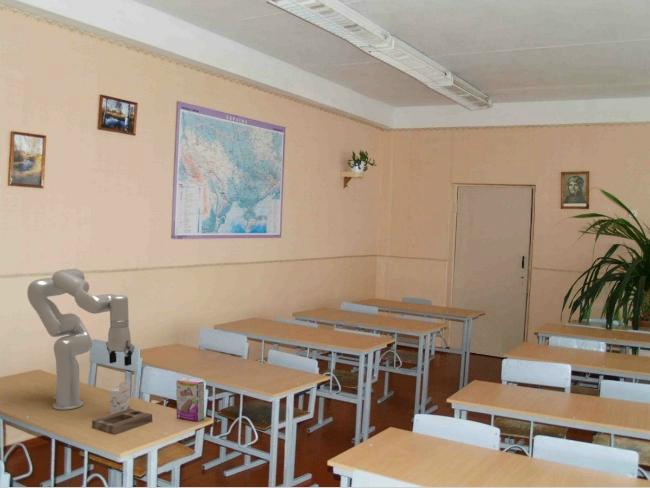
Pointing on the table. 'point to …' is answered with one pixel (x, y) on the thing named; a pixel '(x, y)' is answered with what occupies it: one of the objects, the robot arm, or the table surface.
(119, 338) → the robot arm
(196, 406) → the candy bar box
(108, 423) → the socket holder
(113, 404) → the ink cartridge box
